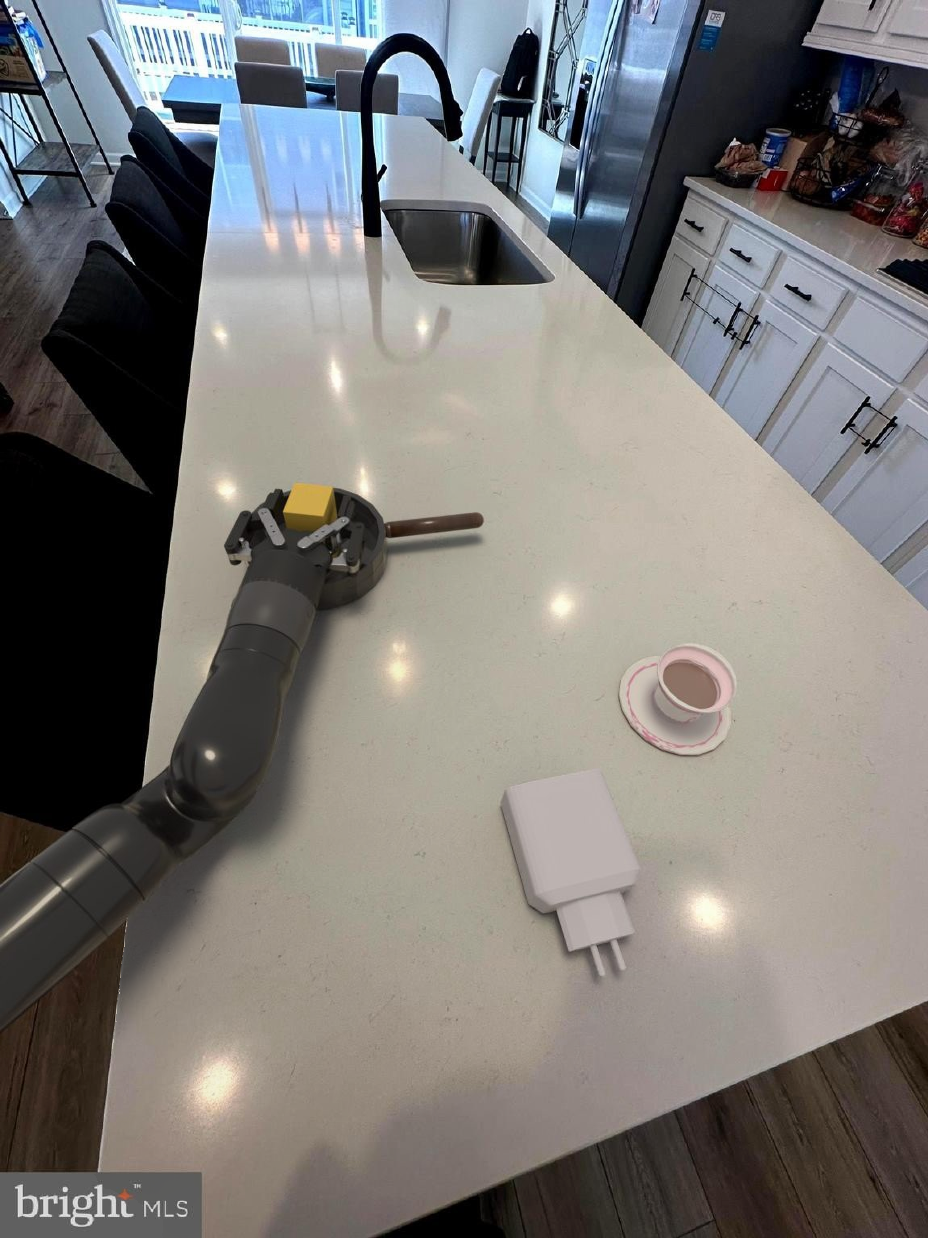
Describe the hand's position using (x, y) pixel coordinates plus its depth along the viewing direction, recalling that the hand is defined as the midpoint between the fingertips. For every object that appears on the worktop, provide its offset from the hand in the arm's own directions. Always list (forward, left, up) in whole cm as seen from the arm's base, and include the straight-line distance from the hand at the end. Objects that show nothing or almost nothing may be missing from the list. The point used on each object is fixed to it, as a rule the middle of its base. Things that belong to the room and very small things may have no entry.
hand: (314, 498), depth 64 cm
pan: (-1, -2, -8) cm, 8 cm away
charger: (+17, -44, -8) cm, 48 cm away
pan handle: (+14, -2, -5) cm, 15 cm away
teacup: (+34, -30, -8) cm, 46 cm away
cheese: (-1, -2, -7) cm, 8 cm away
